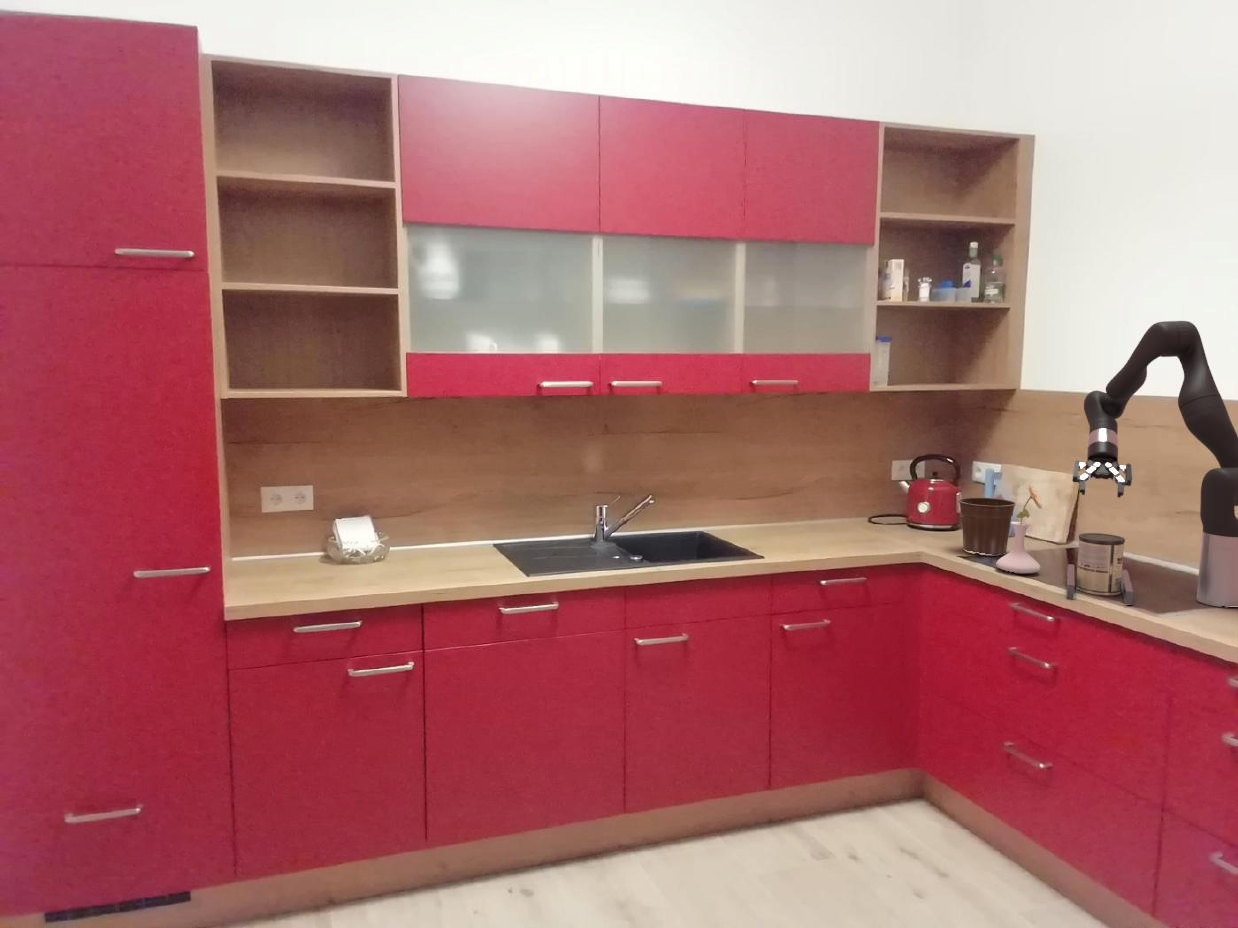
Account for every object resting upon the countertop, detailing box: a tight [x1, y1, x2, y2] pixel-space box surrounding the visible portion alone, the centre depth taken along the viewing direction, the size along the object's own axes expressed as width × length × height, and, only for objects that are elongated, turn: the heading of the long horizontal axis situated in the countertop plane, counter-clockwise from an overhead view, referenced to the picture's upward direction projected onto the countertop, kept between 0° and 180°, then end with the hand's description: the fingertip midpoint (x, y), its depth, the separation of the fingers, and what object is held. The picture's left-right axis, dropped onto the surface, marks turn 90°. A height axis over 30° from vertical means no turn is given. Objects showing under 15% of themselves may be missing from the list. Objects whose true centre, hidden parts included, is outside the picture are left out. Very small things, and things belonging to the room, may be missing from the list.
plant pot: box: [957, 497, 1017, 555], centre depth 266 cm, size 16×16×16 cm
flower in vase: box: [995, 482, 1044, 575], centre depth 241 cm, size 13×11×25 cm
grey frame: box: [1066, 563, 1135, 606], centre depth 222 cm, size 14×26×4 cm, turn 152°
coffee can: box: [1075, 532, 1126, 597], centre depth 221 cm, size 10×10×14 cm
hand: (1101, 494), depth 235 cm, fingers open, 8 cm apart
